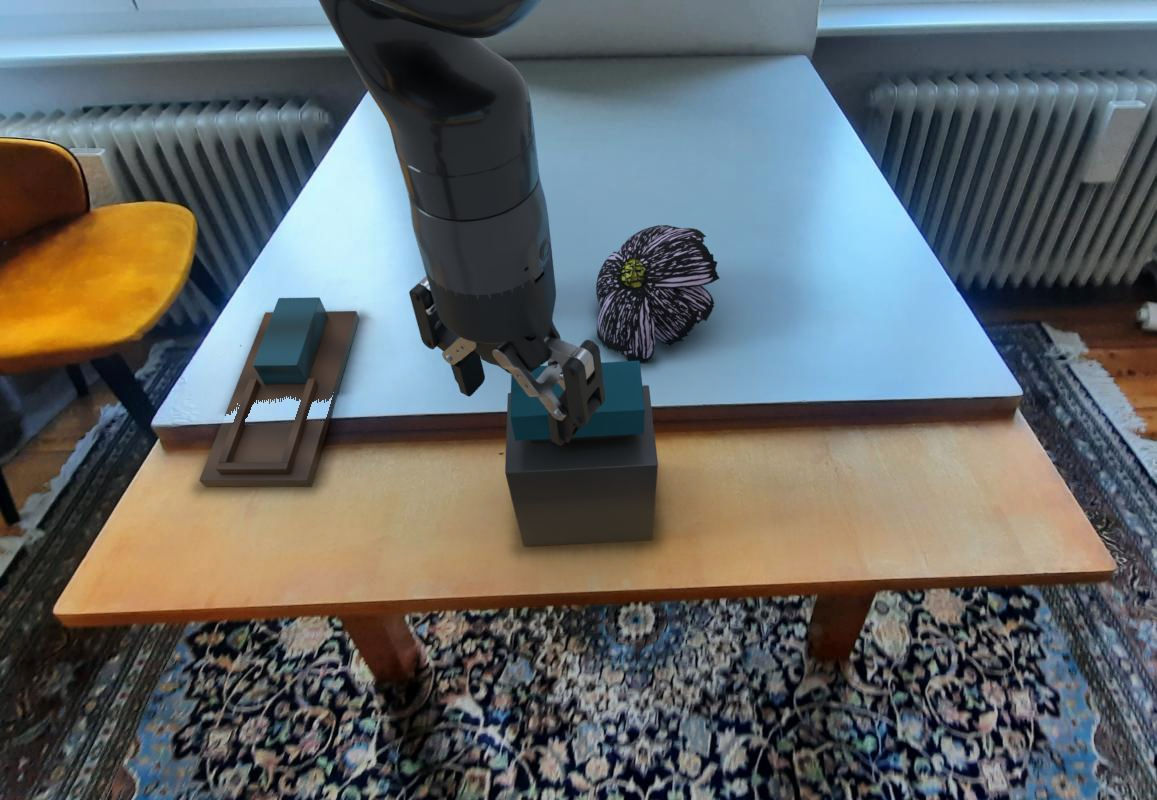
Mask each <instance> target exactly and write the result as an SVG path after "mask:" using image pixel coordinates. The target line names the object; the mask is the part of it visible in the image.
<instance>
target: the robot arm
mask: <svg viewBox="0 0 1157 800" xmlns="http://www.w3.org/2000/svg"><path fill="white" fill-rule="evenodd" d="M318 2H319V4H320V6H321V8H322V10H323V12H324V14H325V16H326V18H327V20H328V21H329V23H330V25H331V27H332V29H333V30H334V31H333V32H335V34H336V36H337V38H338V40H339V42H340V43H341V45H342V47H343V49H344V50H345V52H346V54H347V56H348V58H349V59H350V61H351V63H352V65H353V66H354V69H355V70H356V72H357V74H358V75H359V77H360V79H361V81H362V83H363V85H364V86H365V88H366V89H367V91H368V93H369V94H370V96H371V98H372V99H373V101H374V102H375V103H376V105H377V106H378V108H379V109H380V112H381V113H382V115H383V116H384V118H385V120H386V122H387V124H388V126H389V129H390V134H391V137H392V141H393V145H394V150H395V154H396V158H397V161H398V165H399V168H400V172H401V175H402V179H403V182H404V185H405V186H404V187H405V190H406V193H407V196H408V200H409V208H410V209H409V210H410V218H411V226H412V229H413V234H414V237H415V240H416V244H417V248H418V252H419V255H420V259H421V262H422V265H423V269H424V272H425V276H424V277H423V278H422V279H421V280H419V282H417V284H415V285H414V286H413V287H412V288H411V289H410V290H409V291H408V294H409V297H410V301H411V305H412V309H413V313H414V316H415V320H416V323H417V327H418V331H419V335H420V339H421V342H422V343H423V345H424V346H425V347H427V348H428V349H430V350H435V349H436V348H438V349H439V350H441V351H442V354H441V357H442V359H444V360H445V362H446V363H448V364H449V365H450V367H451V370H452V374H453V378H454V381H456V383H457V385H458V389H459V392H460V393H461V394H463V395H464V396H466V397H468V398H470V397H472V396H473V395H474V394H475V392H476V391H478V389H479V388H480V387H481V386H482V385H483V384H484V383H485V380H486V375H485V370H484V367H483V366H484V365H483V362H482V361H484V362H486V363H488V364H490V365H493V366H496V367H499V368H501V369H502V370H504V371H505V372H506V373H508V374H510V375H511V374H512V375H513V377H514V378H515V379H516V380H517V382H518V383H519V384H520V386H521V387H522V388H523V389H524V391H525V392H526V393H527V395H528V396H529V397H532V398H534V397H538V398H539V399H540V401H541V402H542V403H543V405H544V406H545V407H546V409H547V410H548V411H549V412H550V413H549V414H548V417H549V425H550V432H551V439H552V442H554V443H556V444H558V445H560V446H562V445H563V444H564V443H565V441H566V442H568V443H569V441H570V440H571V439H572V438H573V436H574V435H575V434H576V432H577V431H578V430H579V429H580V427H584V426H585V425H586V424H587V423H588V422H589V419H590V418H591V417H592V415H593V414H594V413H595V412H596V410H597V409H598V408H599V406H601V405H602V404H603V402H604V401H605V393H604V384H603V375H602V366H601V363H602V359H601V358H602V357H601V350H600V348H599V346H598V345H597V343H595V342H594V341H592V340H591V339H585V340H584V341H583V342H582V343H581V344H580V345H579V346H577V345H574V344H572V343H569V342H567V341H565V340H562V338H561V334H560V333H559V331H558V329H557V328H556V325H555V323H554V321H553V318H554V310H555V305H556V300H557V289H556V278H555V271H554V270H555V267H554V259H553V250H552V249H553V248H552V239H551V238H552V237H551V229H550V219H549V211H548V203H547V199H546V195H545V191H544V188H543V185H542V181H541V177H540V168H539V159H538V150H537V141H536V130H535V124H534V123H535V122H534V116H533V108H532V101H531V97H530V92H529V88H528V85H527V83H526V81H525V78H524V77H523V76H522V74H521V73H520V71H519V70H518V69H517V68H516V67H515V66H514V65H513V64H512V62H510V61H508V60H507V59H505V58H504V57H502V56H501V55H500V54H498V53H496V52H495V51H493V50H492V49H490V48H489V47H488V46H486V45H485V44H483V43H482V42H481V41H479V40H478V39H486V38H492V37H495V36H499V35H501V34H504V33H506V32H508V31H510V30H512V29H514V28H515V27H517V26H518V25H520V24H521V23H522V22H523V21H524V20H526V19H527V17H528V16H530V15H531V14H532V13H533V11H534V10H535V9H536V8H537V6H538V5H539V4H540V2H541V0H318ZM546 363H547V365H546V366H547V368H546V369H545V370H544V371H543V373H542V374H541V375H540V376H539V377H538V378H537V379H535V378H534V377H533V375H532V374H531V372H532V371H534V370H535V369H537V368H538V367H539V366H543V365H544V364H546ZM557 382H558V383H559V385H560V386H561V388H562V389H563V390H564V391H563V392H562V393H561V395H560V396H559V397H558V398H557V397H556V396H555V395H554V393H553V391H552V388H553V386H554V385H555V384H556V383H557Z"/></svg>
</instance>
